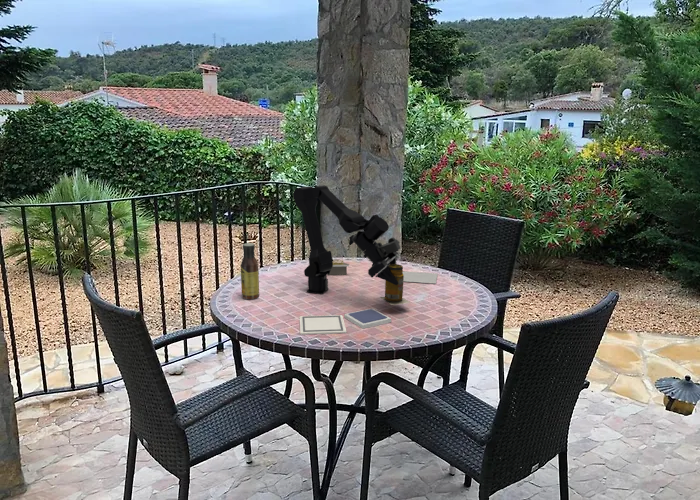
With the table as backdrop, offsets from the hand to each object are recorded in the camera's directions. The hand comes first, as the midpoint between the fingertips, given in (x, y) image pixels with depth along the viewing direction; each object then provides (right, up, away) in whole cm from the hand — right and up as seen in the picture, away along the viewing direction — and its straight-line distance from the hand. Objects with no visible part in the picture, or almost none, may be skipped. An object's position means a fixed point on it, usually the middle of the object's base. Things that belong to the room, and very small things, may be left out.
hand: (399, 281), depth 185 cm
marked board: (-26, -13, -12) cm, 31 cm away
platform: (-22, 0, +42) cm, 47 cm away
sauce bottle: (-53, -7, +13) cm, 55 cm away
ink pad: (-11, -12, -7) cm, 18 cm away
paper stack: (+5, -2, +35) cm, 35 cm away
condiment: (-2, -7, +1) cm, 7 cm away
